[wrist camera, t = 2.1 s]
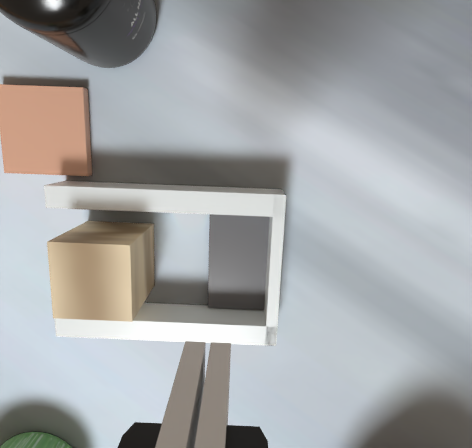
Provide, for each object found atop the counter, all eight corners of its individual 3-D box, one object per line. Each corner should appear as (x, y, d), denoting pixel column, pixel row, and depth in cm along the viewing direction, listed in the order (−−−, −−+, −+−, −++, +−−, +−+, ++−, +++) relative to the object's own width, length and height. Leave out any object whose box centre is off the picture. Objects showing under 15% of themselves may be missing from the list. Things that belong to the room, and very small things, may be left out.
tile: (87, 89, 25) (82, 87, 25) (92, 175, 27) (87, 175, 26) (2, 86, 26) (-5, 84, 25) (11, 171, 27) (4, 172, 26)
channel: (281, 189, 27) (286, 194, 24) (272, 325, 29) (276, 345, 26) (65, 180, 27) (44, 185, 24) (74, 317, 29) (56, 336, 26)
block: (153, 223, 28) (130, 245, 22) (154, 285, 29) (132, 321, 23) (88, 220, 28) (47, 241, 22) (91, 282, 29) (53, 318, 23)
